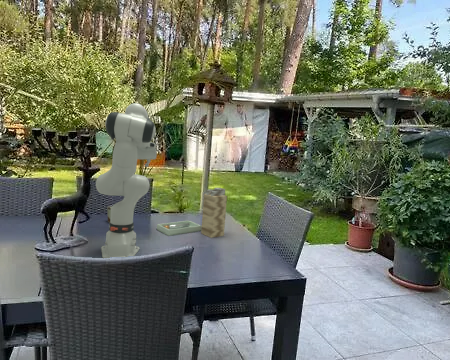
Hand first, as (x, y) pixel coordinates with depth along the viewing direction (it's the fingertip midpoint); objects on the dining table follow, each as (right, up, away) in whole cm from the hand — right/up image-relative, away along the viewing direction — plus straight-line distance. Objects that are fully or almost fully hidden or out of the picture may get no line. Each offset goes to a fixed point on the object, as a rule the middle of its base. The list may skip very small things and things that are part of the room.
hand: (139, 166), depth 216 cm
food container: (-20, -35, +19) cm, 45 cm away
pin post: (+43, -41, +11) cm, 60 cm away
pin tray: (+22, -39, +14) cm, 47 cm away
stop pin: (+21, -36, +15) cm, 44 cm away
